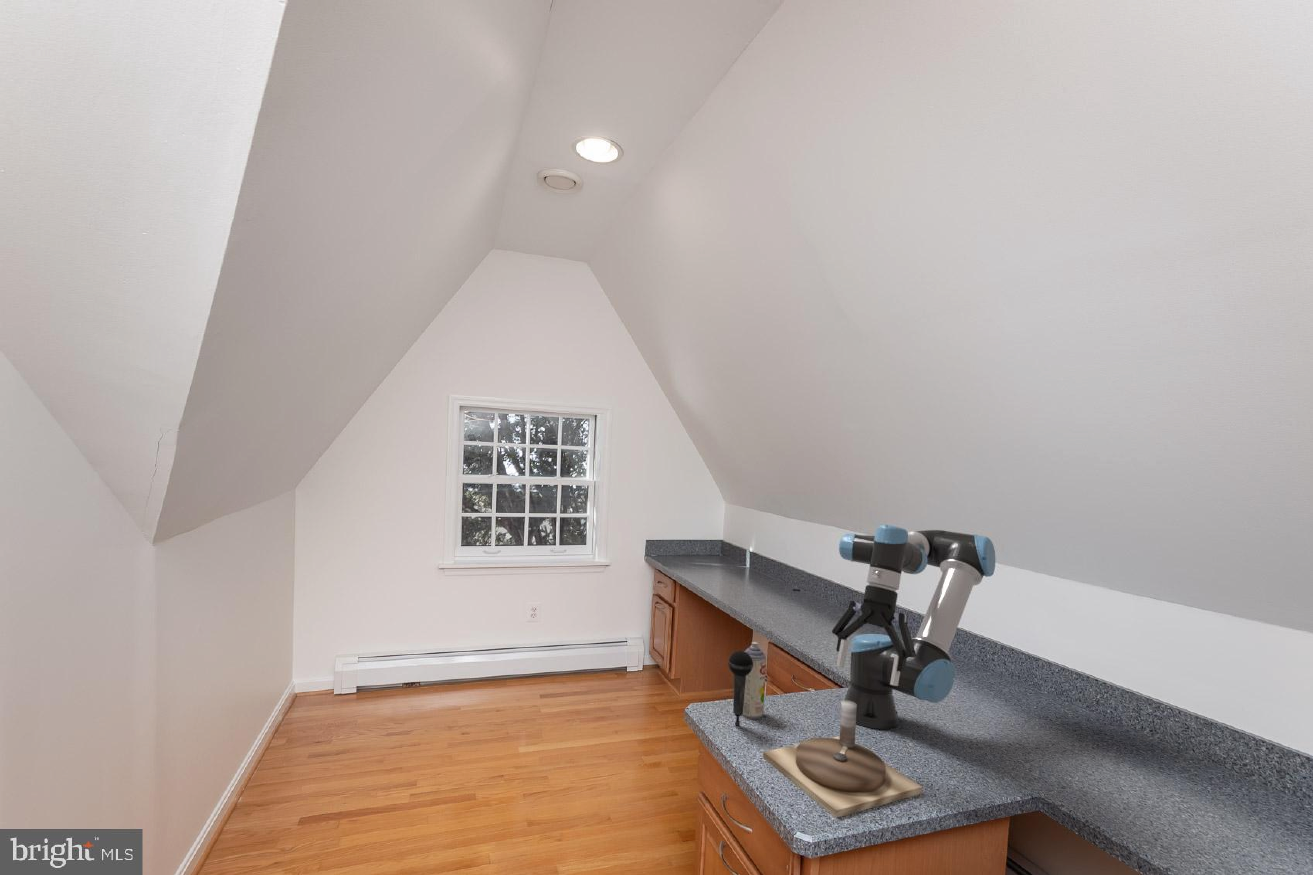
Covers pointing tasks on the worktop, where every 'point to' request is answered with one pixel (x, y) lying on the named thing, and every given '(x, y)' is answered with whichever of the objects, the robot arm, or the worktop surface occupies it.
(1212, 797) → the worktop surface
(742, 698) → the microphone
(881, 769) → the dial
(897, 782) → the stand plate
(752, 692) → the aerosol can
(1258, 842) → the worktop surface
